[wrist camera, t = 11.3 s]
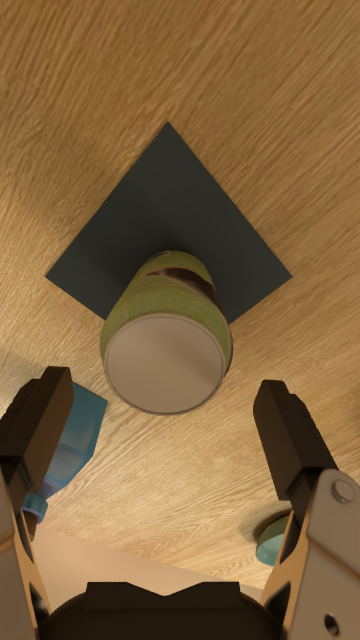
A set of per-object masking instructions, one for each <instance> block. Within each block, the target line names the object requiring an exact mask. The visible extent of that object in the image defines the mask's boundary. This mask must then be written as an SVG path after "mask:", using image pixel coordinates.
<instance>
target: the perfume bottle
mask: <svg viewBox="0 0 360 640" xmlns="http://www.w3.org/2000/svg"><path fill="white" fill-rule="evenodd" d="M72 384H73V389H74V401H73V406H72V409H71V412H70V414H69V417H68V419H67V422H66V424H65V427H64V430H63V432H62V435H61V437H60V440H59V442H58V445H57V448H56V450H55V453H54V455H53V458H52V460H51V463H50V466H49V468H48V471H47V473H46V476H45V478H44V481H43V484H42V486H41V489H40V491H39V494H27V496H26V498H25V500H24V503H23V505H22V511H23V515H24V519H25V522H26V526H27V530H28V534H29V538H30V541H31V542H32V541H33V540H34V536H35V530H36V525H37V524H39V523H41V522H42V521H43V518H44V516H45V513H46V510H47V507H48V503H47V502H46V499H48V498H49V497H51V496H52V495H54V494H55V493H57V492H58V491H60V490H61V489H63V488H64V487H65V486H67V485H68V483H69V482H70V481H71V480H72V479H73V478H74V477H75V476H76V474H77V473H78V472H79V471H80V470H81V469H82V468H83V467H84V465H85V464H86V463H87V462H88V461H89V460H90V459H91V458H92V456H93V454H94V450H95V446H96V442H97V439H98V435H99V431H100V427H101V423H102V420H103V416H104V412H105V408H106V405H107V401H106V400H104V399H103V398H101V397H99V396H97V395H95V394H94V393H92V392H90V391H88V390H86V389H85V388H83V387H81V386H79V385H77V384H76V383H74V382H72Z"/></svg>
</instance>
